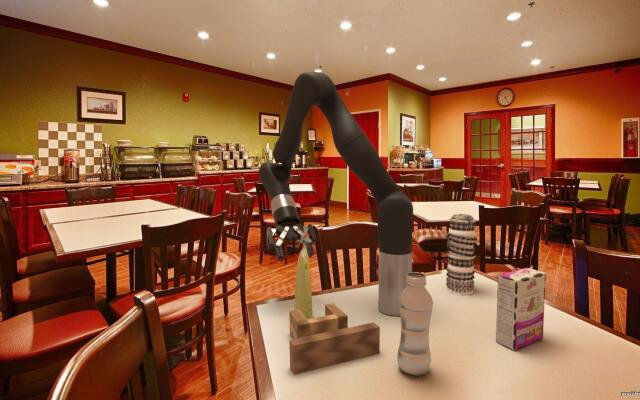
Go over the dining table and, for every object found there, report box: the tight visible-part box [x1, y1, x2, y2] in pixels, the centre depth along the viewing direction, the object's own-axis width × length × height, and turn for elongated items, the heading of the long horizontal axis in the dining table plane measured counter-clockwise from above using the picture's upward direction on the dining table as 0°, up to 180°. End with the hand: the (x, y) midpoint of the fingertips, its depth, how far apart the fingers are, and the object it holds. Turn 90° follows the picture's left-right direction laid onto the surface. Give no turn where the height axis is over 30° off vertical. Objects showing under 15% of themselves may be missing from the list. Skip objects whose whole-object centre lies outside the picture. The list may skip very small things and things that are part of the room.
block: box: [288, 303, 349, 340], centre depth 83 cm, size 12×8×6 cm, turn 112°
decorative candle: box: [445, 213, 478, 296], centre depth 111 cm, size 9×9×25 cm
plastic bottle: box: [396, 271, 434, 376], centre depth 69 cm, size 6×7×20 cm
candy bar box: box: [495, 267, 547, 352], centre depth 80 cm, size 11×5×16 cm, turn 117°
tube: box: [294, 245, 313, 319], centre depth 92 cm, size 6×5×20 cm
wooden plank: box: [288, 322, 381, 375], centre depth 73 cm, size 20×2×6 cm, turn 112°
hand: (296, 257), depth 97 cm, fingers open, 8 cm apart
